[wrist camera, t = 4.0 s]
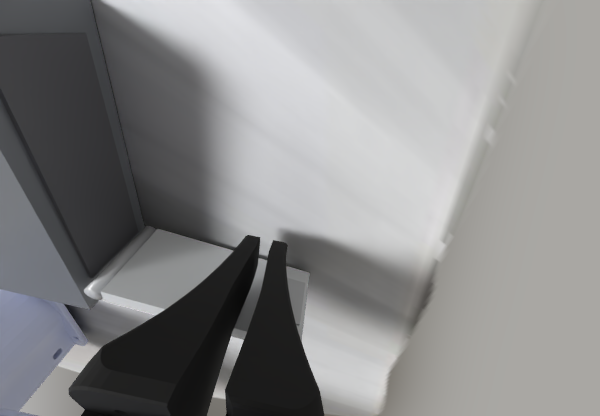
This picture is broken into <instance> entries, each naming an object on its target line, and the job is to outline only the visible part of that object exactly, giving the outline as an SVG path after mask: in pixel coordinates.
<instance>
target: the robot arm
mask: <svg viewBox="0 0 600 416" xmlns="http://www.w3.org/2000/svg"><path fill="white" fill-rule="evenodd" d="M259 246H260V237H255V236H250V235H247V236H246V237H245V238H244V239H243V240H242V242H241V243H240V244H239V245H238V246H237V248H236V249H235V250H234V251H233V252H232V253H231V254H230V255H229V256H228V257H227V258H226V259H225V260H224V261H223V262H222V264H221V265H220V266H219V267H217V268H216V269H215V270H214V271H213V272H212V273H211V274H210V275H209V276H208V277H207V278H206V279H204V280H203V281H202V282H201V283H200V284H199V285H197V286H196V287H195V288H194V289H192V290H191V291H190V292H189V293H187V294H186V295H185V296H183V297H182V298H181V299H179V300H178V301H176V302H175V303H174V304H172V305H171V306H169V307H168V308H167V309H165V310H164V311H162V312H161V313H159V314H157V315H156V316H154V317H153V318H151V319H149V320H148V321H146V322H145V323H143V324H142V325H140V326H138V327H137V328H135V329H133V330H131V331H129V332H128V333H126V334H124V335H122V336H120V337H119V338H117V339H115V340H113V341H111V342H110V343H108V344H106V345H104V346H103V347H102V348H101V349H100V350H99V351H98V352H97V354H96V355H95V356H94V357H93V358H92V359H91V360H90V361H89V363H88V364H87V365H86V366H85V368H84V369H83V370H82V372H81V373H80V374H79V376H78V377H77V378H76V380H75V381H74V382H73V384H72V385H71V387H70V388H69V395H70V396H71V397H72V399H74V400H75V401H76V402H77V403H78V404H79V405H80V406H82V407H83V408H84V409H85V411H84V412H83V414H82V415H81V416H207V413H208V409H209V406H210V402H211V399H212V396H213V392H214V389H215V386H216V382H217V379H218V376H219V372H220V369H221V366H222V363H223V359H224V356H225V353H226V350H227V347H228V344H229V341H230V337H231V335H232V332H233V329H234V327H235V324H236V322H237V319H238V317H239V315H240V312H241V310H242V307H243V305H244V303H245V300H246V298H247V296H248V293H249V291H250V288H251V286H252V283H253V280H254V277H255V273H256V270H257V267H258V258H259ZM287 246H288V245H287V244H286V243H284V242H279V241H274V240H273V243H272V245H271V248H270V251H269V254H268V259H267V264H266V269H265V274H264V279H263V284H262V288H261V292H260V296H259V299H258V302H257V305H256V308H255V311H254V314H253V316H252V319H251V322H250V325H249V328H248V331H247V334H246V336H245V339H244V342H243V345H242V347H241V350H240V353H239V355H238V358H237V361H236V363H235V366H234V369H233V371H232V374H231V376H230V379H229V382H228V384H227V387H226V389H225V395H226V408H227V409H226V410H227V414H226V416H324V411H323V406H322V401H321V396H320V391H319V388H318V386H317V383H316V381H315V378H314V376H313V373H312V371H311V368H310V366H309V363H308V360H307V357H306V355H305V352H304V349H303V345H302V342H301V339H300V336H299V333H298V329H297V326H296V322H295V318H294V314H293V310H292V305H291V300H290V294H289V288H288V280H287V270H286V252H287ZM87 342H88V340H87V338H86V337H85V335H84V334H83V332H82V331H81V329H80V328H79V326H78V325H77V323H76V322H75V320H74V318H73V317H72V315H71V314H70V312H69V311H68V309H67V308H66V306H65V305H64V304H63V303H58V302H54V301H49V300H45V299H41V298H36V297H32V296H28V295H23V294H19V293H15V292H10V291H6V290H1V289H0V416H37V415H32V414H27V413H24V412H19V410H20V409H21V408H22V407H23V406H24V404H25V403H26V402H27V401H28V400H29V398H30V397H31V396H32V395H33V394H34V393H35V391H36V390H37V389H38V388H39V387H40V385H41V384H42V383H43V382H44V381H45V379H46V378H47V377H48V376H49V375H50V373H51V372H52V371H53V370H54V369H55V367H56V366H57V365H58V364H59V363H60V362H61V360H62V359H63V358H64V357H65V356H66V354H67V353H68V352H69V351H70V350H71V348H72V347H73V346H74V345H75V344H77V345H81V346H84V345H86V344H87Z"/></svg>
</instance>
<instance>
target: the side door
mask: <svg viewBox="0 0 600 416" xmlns="http://www.w3.org/2000/svg"><path fill="white" fill-rule="evenodd" d="M232 252H233V250H230V249H226V248H223V247H219V246H216V245H212V244H209V243H206V242H202V241H199V240H195V239H192V238H188V237H185V236H182V235H178V234H175V233H171V232H168V231H164V230H161V229H157V230H156V229H155V228H153V227H151V226H146V227H145V228H144V229H143V230H142V231H141V232H140V233H139V234H138V235H137V236H136V237H135V238H134V239H133V240H132V241H131V242H130V243H129V244H128V245H127V246H126V247H125V248H124V249H123V250H122V251H121V252H120V253H119V254H118V255H117V256H116V257H115V259H114V260H113V261H112V262H111V263H110V264H109V265H108V266H107V267H106V268H105V269H104V270H103V271H102V272H101V273H100V274H99V275H98V276H97V277H96V278H95V279H94V280H93V281H92V282H91V283H90V284H89V285H88V286H87V287H86V288H85V289H84V293H85V294H86V295H87V296H89V297H91V298H93V299H96V300H101V299H102V298H103V300H104V302H107V303H111V304H114V305H118V306H122V307H125V308H129V309H133V310H137V311H140V312H144V313H148V314H151V315H155V316H156V315H157V314H159V313H161V312H162V311H164V310H165V309H167V308H168V307H169V306H171V305H172V304H174V303H175V302H176V301H178V300H179V299H181V298H182V297H183V296H185V295H186V294H187V293H189V292H190V291H191V290H192V289H194V288H195V287H196V286H197V285H199V284H200V283H201V282H202V281H203V280H204V279H206V278H207V277H208V276H209V275H210V274H211V273H212V272H213V271H214V270H215V269H216V268H217V267H219V266H220V265H221V264H222V262H223V261H224V260H225V259H226V258H227V257H228V256H229V255H230V254H231V253H232ZM266 264H267V260H264V259H261V258H258V267H257V270H256V273H255V277H254V280H253V283H252V286H251V288H250V291H249V293H248V296H247V298H246V300H245V303H244V305H243V307H242V310H241V312H240V315H239V317H238V319H237V322H236V324H235V327H234V329H233V332H232V335H231V336H233V337H236V338H240V339H245V336H246V334H247V331H248V328H249V325H250V322H251V319H252V316H253V314H254V311H255V308H256V305H257V302H258V299H259V296H260V292H261V288H262V284H263V279H264V274H265V269H266ZM286 270H287V280H288V288H289V294H290V300H291V305H292V310H293V314H294V318H295V322H296V326H297V329H298V333H299V336H300V339H301V340H302V332H303V324H304V316H305V308H306V300H307V291H308V283H309V275H310V273H309V272H305V271H302V270H298V269H295V268H292V267H288V266H286Z"/></svg>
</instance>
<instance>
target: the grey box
mask: <svg viewBox="0 0 600 416" xmlns="http://www.w3.org/2000/svg"><path fill="white" fill-rule="evenodd" d="M144 228H145V226H144V222H143V218H142V214H141V210H140V206H139V201H138V197H137V193H136V189H135V185H134V180H133V176H132V172H131V168H130V164H129V160H128V155H127V151H126V147H125V143H124V139H123V135H122V130H121V126H120V122H119V118H118V114H117V110H116V105H115V101H114V97H113V93H112V89H111V84H110V80H109V76H108V72H107V68H106V64H105V59H104V55H103V51H102V47H101V43H100V39H99V34H98V30H97V26H96V22H95V18H94V14H93V9H92V5H91V1H90V0H0V289H1V290H6V291H10V292H15V293H19V294H23V295H28V296H32V297H36V298H41V299H45V300H49V301H54V302H58V303H63V304H67V305H71V306H76V307H80V308H84V309H89V310H91V308H92V307H93V306H94V305H95V304H96V303H97V302H98V301H99V300H96V299H93V298H91V297H89V296H87V295H86V294H85V293H84V289H85V288H86V287H87V286H88V285H89V284H90V283H91V282H92V281H93V280H94V279H95V278H96V277H97V276H98V275H99V274H100V273H101V272H102V271H103V270H104V269H105V268H106V267H107V266H108V265H109V264H110V263H111V262H112V261H113V260H114V259H115V257H116V256H117V255H118V254H119V253H120V252H121V251H122V250H123V249H124V248H125V247H126V246H127V245H128V244H129V243H130V242H131V241H132V240H133V239H134V238H135V237H136V236H137V235H138V234H139V233H140V232H141V231H142V230H143V229H144Z"/></svg>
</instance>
